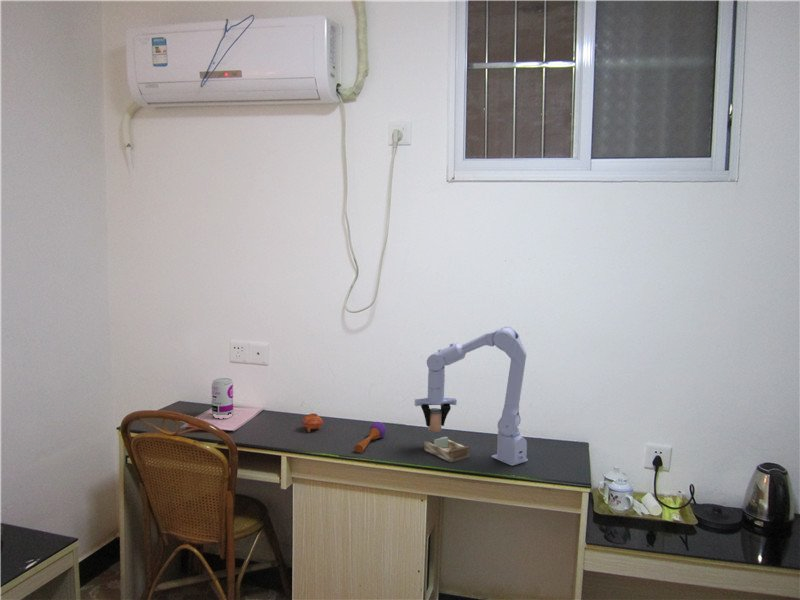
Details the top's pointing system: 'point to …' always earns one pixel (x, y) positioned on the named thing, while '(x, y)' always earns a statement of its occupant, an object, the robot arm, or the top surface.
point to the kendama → (371, 436)
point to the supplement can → (222, 396)
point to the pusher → (441, 442)
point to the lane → (448, 451)
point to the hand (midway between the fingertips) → (434, 425)
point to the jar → (435, 420)
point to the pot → (312, 421)
